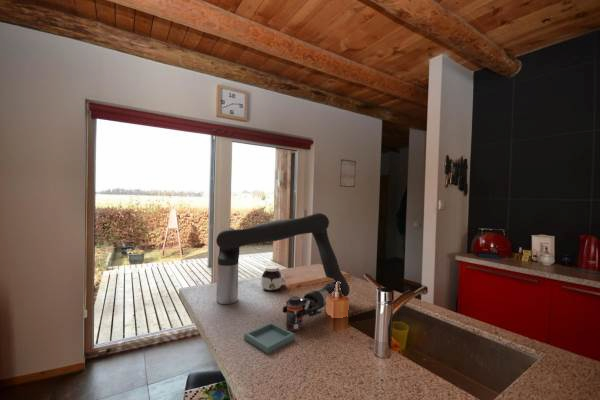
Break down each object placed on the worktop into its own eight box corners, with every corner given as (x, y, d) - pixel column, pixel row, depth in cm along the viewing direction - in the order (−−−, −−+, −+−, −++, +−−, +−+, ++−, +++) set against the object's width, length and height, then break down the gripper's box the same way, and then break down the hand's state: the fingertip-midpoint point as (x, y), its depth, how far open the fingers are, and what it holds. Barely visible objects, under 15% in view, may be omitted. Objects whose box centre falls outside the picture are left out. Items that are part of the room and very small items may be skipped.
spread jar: (260, 291, 140) (260, 268, 140) (266, 284, 151) (266, 263, 151) (282, 292, 138) (283, 269, 138) (287, 285, 149) (288, 264, 149)
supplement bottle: (300, 333, 98) (301, 301, 98) (284, 331, 99) (284, 299, 99) (303, 325, 104) (304, 295, 103) (288, 323, 105) (288, 294, 105)
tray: (244, 340, 92) (244, 333, 92) (271, 328, 101) (271, 322, 101) (267, 354, 84) (267, 347, 84) (294, 340, 93) (294, 333, 93)
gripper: (303, 286, 117) (276, 297, 104) (332, 294, 108) (306, 307, 95) (303, 304, 117) (275, 317, 104) (331, 313, 108) (305, 329, 95)
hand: (290, 312), depth 99 cm, fingers closed on supplement bottle, 6 cm apart
